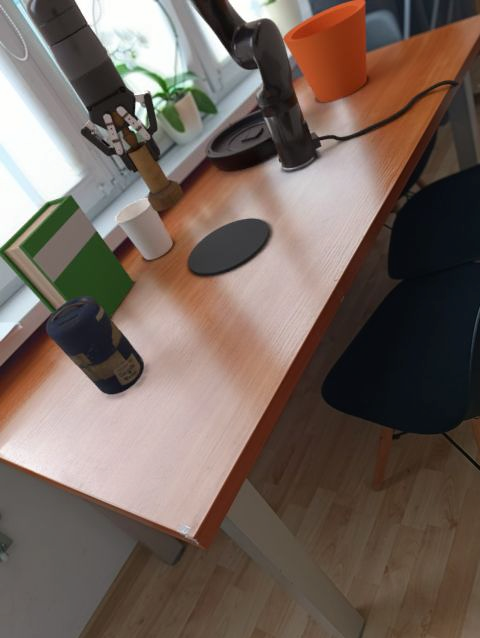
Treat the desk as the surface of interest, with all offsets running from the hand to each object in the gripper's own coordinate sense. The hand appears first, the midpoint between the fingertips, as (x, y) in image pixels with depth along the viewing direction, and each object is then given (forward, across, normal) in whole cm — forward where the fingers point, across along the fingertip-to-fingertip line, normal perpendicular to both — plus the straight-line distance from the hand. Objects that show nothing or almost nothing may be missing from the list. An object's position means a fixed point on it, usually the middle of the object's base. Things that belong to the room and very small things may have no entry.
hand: (146, 164), depth 87 cm
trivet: (+26, +5, +8) cm, 28 cm away
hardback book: (+26, -27, +7) cm, 38 cm away
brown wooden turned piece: (+8, 0, 0) cm, 8 cm away
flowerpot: (+29, +53, +74) cm, 96 cm away
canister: (+26, -20, -21) cm, 39 cm away
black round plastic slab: (+28, +21, +60) cm, 70 cm away
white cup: (+26, -13, +24) cm, 38 cm away
